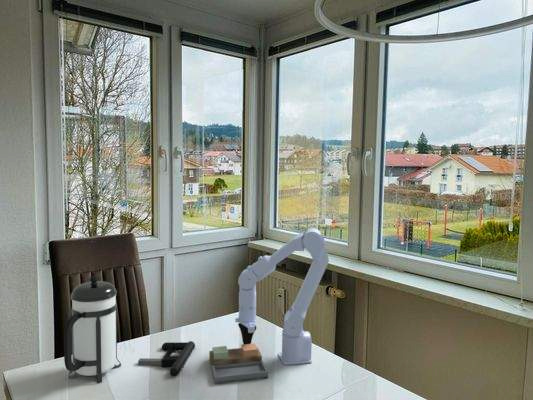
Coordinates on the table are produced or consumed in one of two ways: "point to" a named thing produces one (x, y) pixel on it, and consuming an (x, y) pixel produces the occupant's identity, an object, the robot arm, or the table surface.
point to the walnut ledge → (234, 358)
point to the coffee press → (92, 330)
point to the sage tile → (220, 352)
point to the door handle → (172, 361)
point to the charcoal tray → (239, 372)
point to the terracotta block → (249, 350)
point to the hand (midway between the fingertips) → (246, 345)
